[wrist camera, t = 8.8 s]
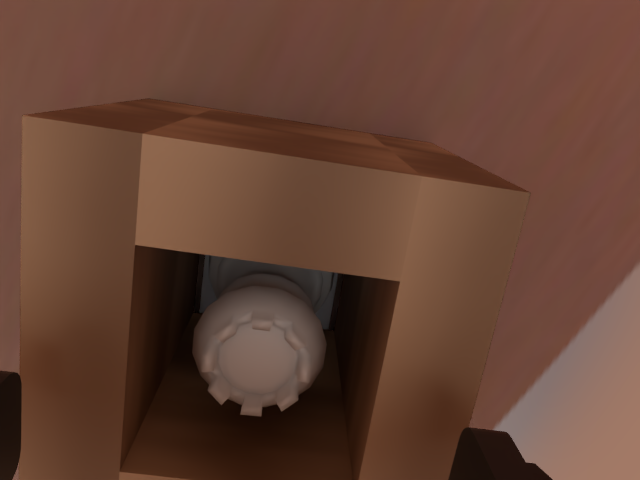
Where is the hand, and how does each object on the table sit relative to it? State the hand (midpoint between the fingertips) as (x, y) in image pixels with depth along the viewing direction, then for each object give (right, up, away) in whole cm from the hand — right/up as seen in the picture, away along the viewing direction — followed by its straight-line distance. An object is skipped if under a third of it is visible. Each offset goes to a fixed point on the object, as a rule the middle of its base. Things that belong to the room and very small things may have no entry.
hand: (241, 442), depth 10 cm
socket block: (0, +3, +11) cm, 11 cm away
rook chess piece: (0, +3, +10) cm, 11 cm away
